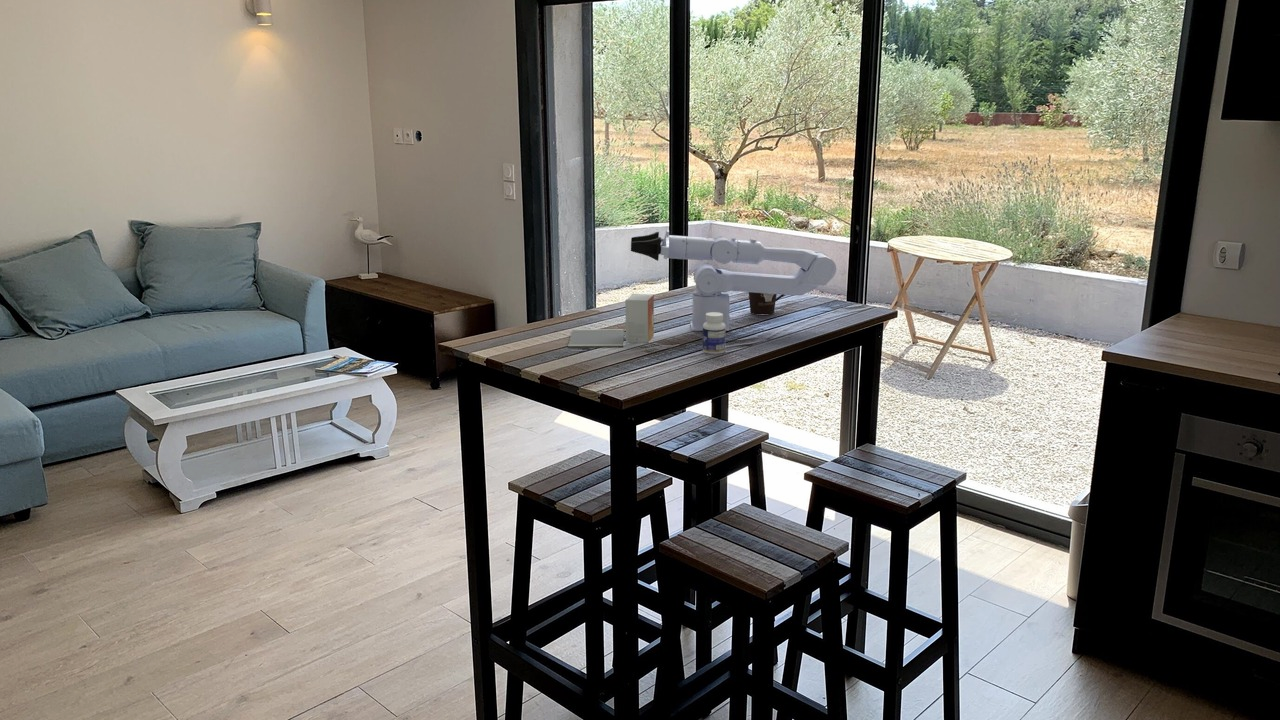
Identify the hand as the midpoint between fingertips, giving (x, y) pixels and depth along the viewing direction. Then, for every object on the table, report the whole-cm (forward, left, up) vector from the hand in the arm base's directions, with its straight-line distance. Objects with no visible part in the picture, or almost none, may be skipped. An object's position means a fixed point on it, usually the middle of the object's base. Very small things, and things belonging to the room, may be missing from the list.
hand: (630, 244), depth 230 cm
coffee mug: (-37, -17, -22) cm, 46 cm away
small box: (-2, +11, -22) cm, 25 cm away
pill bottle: (-19, +23, -22) cm, 37 cm away
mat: (+8, +11, -22) cm, 26 cm away
